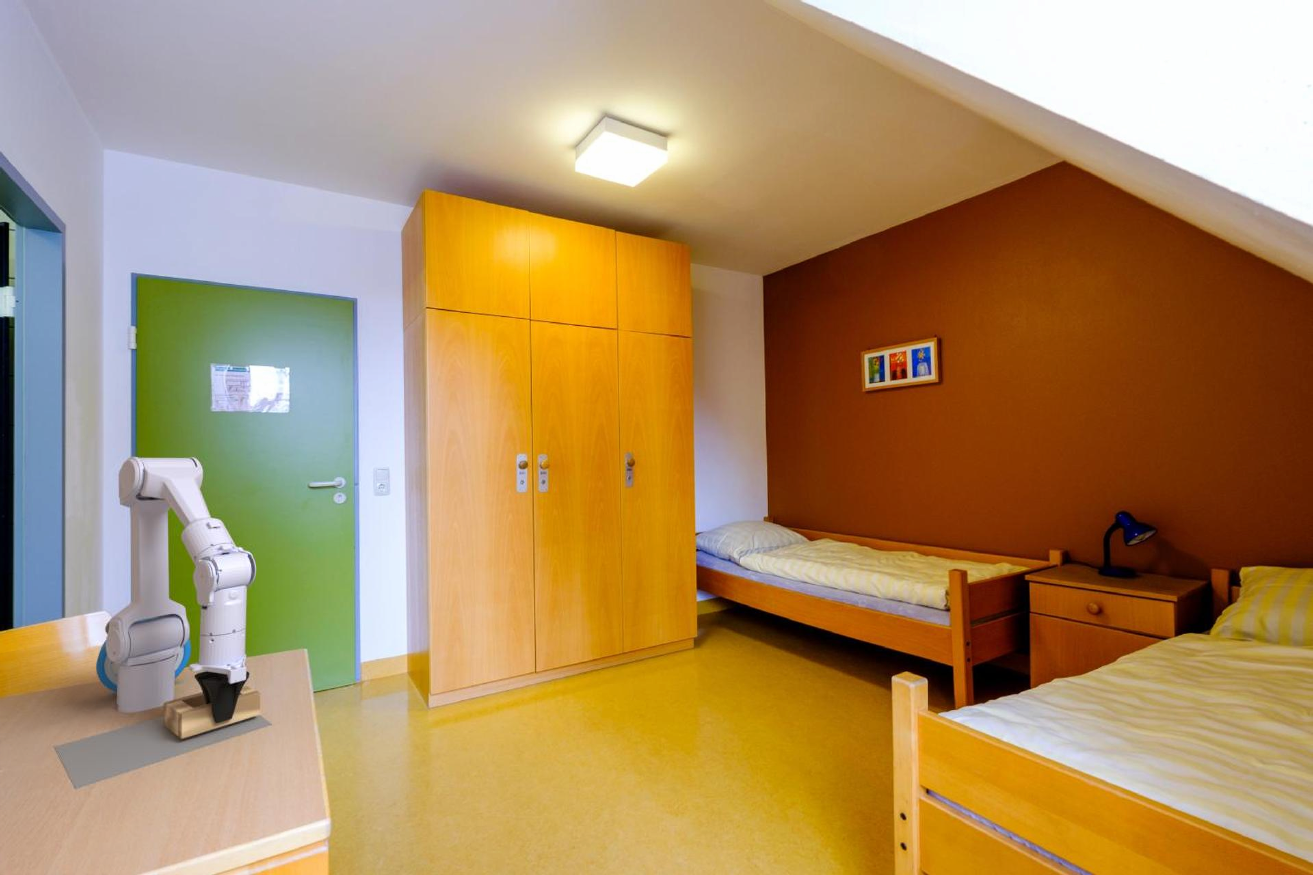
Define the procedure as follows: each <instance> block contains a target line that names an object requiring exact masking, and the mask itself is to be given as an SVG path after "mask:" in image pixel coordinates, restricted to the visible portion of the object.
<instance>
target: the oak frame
mask: <svg viewBox="0 0 1313 875" xmlns="http://www.w3.org/2000/svg"><path fill="white" fill-rule="evenodd" d="M162 713H163V715H162V716H163V725H164V726H165V727H166V728H168V729H169V730H170V731H172V732H173V733H174V734H176V735H177V736H178V737H180V738H181V739H183V738H186V737H189V736H193V735H196V734H199V733H202V732H205V731H209V730H212V729H215V728H218V727H221V726H225V725H228V724H231V723H234V722H237V721H241V720H244V719H247V718H250V717H253V716H257V715H260V716H261V693H260V691H258V690H256V689H254V688H251V687H250V686H247V685H245V684H244V686H243V688H242V690H241V692H240V694H239V697H238V700H237V704H236V707H235V711H234V714H233V717H232V719H230V720H227V721H223V722H220V723H215V721H214V719H213V714H212V707H211V703H209V704H206V702H205V698H204V695H203V692H198V693H194V694H190V695H187V696H182V697H179V698H174V699H173V700H171V701H167V702H164V705H163V712H162Z"/></svg>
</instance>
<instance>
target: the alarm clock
mask: <svg viewBox="0 0 1313 875" xmlns="http://www.w3.org/2000/svg"><path fill="white" fill-rule="evenodd" d="M165 616H167V615H162V616H157V617H152V618H147V619H143V620H138V621H136V622H140V621H145V620H150V619H155V618H160V617H165ZM109 623H110V620H109V621H108V622H107V623H106V625H105V627H104V630H105V633H106V634H107V635H108V632H109ZM134 623H135V622H134ZM191 654H192V645H191V639H190V637H189V638H188V641H187V642H186V644H185V645H184V646H183V647H182V648H180V653H178V654H175V679H177V678H178V677H179V676H180V674H181V673H183V671H184V670H185V668H186V666H187V664H188V663H189V662H190V658H191ZM95 664H96V666H95V669H96V676H97V677H98V680H99V681H100V682H101V684H102V685H103V686H105V688H107V689H108V690H110V691H112V692H114V693H117V681H118V671H119V668H120V664H116V663H114V662H113V661H111V660H110V659H109V657H108V655H107V652H106V640H105V641H104V642H103V644H102V646H101V647H100V650H99V653H98V656H97V659H96V663H95Z"/></svg>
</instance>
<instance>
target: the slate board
mask: <svg viewBox="0 0 1313 875" xmlns="http://www.w3.org/2000/svg"><path fill="white" fill-rule="evenodd" d="M273 725H274V724H273V723H272V722H270V721H269V720H267V719H266V718H264V717H263V716H261V714H260V715H257V716H253V717H250V718H247V719H244V720H241V721H237V722H234V723H231V724H228V725H225V726H221V727H218V728H215V729H212V730H209V731H205V732H202V733H199V734H196V735H193V736H189V737H186V738H183V739H181V738H180V737H178V736H177V735H176V734H174V733H173V732H172V731H170V730H169V729H168V728H166V727H165V726H164V725H163V715H162V716H159V717H156V718H153V719H149V720H145V721H141V722H138V723H135V724H134V723H133V724H131V725H126V726H123V727H119V728H116V729H113V730H109V731H107V732H102V733H99V734H95V735H90V736H87V737H84V738H81V739H77V740H72V741H70V742H65V743H63V744H62V743H61V744H59V745H56V746H55V745H54V746H53V748H54V750H55V752H56V753H57V757H58V758H59V759H60V761H61V764H62V765H63V768H64V769H65V771H66V773H67V775H68V777H69V779H70V781H71V783H72V785H73V787H74V789H75V790H78V789H81V788H83V787H84V788H85V787H87V786H89V785H90V786H91V785H92V784H95V783H100V782H102V781H105V780H108V779H112V778H114V777H117V776H120V775H124V774H127V773H129V772H133V771H135V770H138V769H141V768H142V769H143V768H145V767H148V766H150V765H151V766H152V765H154V764H157V763H160V762H164V761H167V760H169V759H172V758H176V757H178V756H181V755H185V754H187V753H190V752H194V751H196V750H197V751H198V750H200V749H203V748H205V747H209V746H212V745H215V744H218V743H221V742H224V741H228V740H230V739H234V738H236V737H237V738H238V737H240V736H242V735H246V734H248V733H252V732H255V731H258V730H260V729H263V728H267V727H271V726H273Z"/></svg>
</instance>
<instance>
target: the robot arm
mask: <svg viewBox="0 0 1313 875" xmlns="http://www.w3.org/2000/svg"><path fill="white" fill-rule="evenodd" d="M203 479H204V470H203V466H202V464H201V462H200V461H199V460H198V458H196V457H194V456H188V457H138V456H130V457H128V458H127V459H126V460H125V461H124V462H123V463H122V465H121V468H120V469H119V472H118V498H119V504H120V506H123V507H126V508H129V513H130V574H131V575H130V582H131V584H130V585H131V587H130V589H131V591H130V592H131V594H130V596H131V597H130V598H131V599H130V600H131V602H130V603H128V604H127V605H126V606H125V607H124V608H123V609H121V610H120V611H119V612H117V613H116V614H114V615H113V616H112V617H111V618H110V619H109V621H110V623H109V632H108V634H107V635H106V640H105V641H106V652H107V655H108V657H109V659H110V660H111V661H113V662H114V663H116V664H120V668H119V671H118V681H117V692H116V705H117V706H118V707H117V711H118V712H120V713H125V714H127V713H137V712H139V713H140V712H143V711H145V712H146V711H148V710H149V711H150V710H153V709H156V708H161V707H162V706H164V702H167V701H171V700H175V684H176V683H175V679H176V678H175V654H178V653H180V648H182V647H183V646H184V645H185V644H186V642H187V641H188V638H190V635H191V634H190V633H191V632H190V630H191V629H190V622H189V621H188V617H187V610H186V607H185V606H184V605H183V604H181V603H179V602H176V601H174V600H172V599H171V598H170V588H169V587H170V576H169V574H170V573H169V519H168V518H169V514H168V513H169V510H170V509H172V511H173V512H174V514H175V515H176V516H177V518H178V519H179V521H180V523H181V524H182V525H183V526H184V529H183V530H182V533H181V535H180V538H181V541H182V543H183V544H184V547H185V548H186V550H187V553H188V554H189V556H190V558H191V560H192V562H193V564H194V566H195V568H194V573H193V574H192V575H193V576H192V577H193V578H192V579H193V584H194V585H193V586H194V587H195V589H196V590H195V591H196V601H197V605H200V629H199V630H200V631H199V633H200V634H199V655H198V656H199V657H198V661H197V662H195V663H191V664H189V666H188V669H189V671H191V672H194V673H195V672H198V671H199V672H198V673H196V674H195V675H194V677H193V678H195V681H197V683H198V684H199V687H200V690H201V691H202V692H203V695H204V698H205V702H206V704H209V703H211V707H212V714H213V719H214V721H215V723H220V722H223V721H227V720H230V719H232V717H233V714H234V711H235V707H236V704H237V700H238V697H239V694H240V692H241V690H242V688H243V686H244V685H245V684H246V683H247V681H248V679H249V677H250V672H249V671H247V666H246V663H247V654H246V632H247V630H246V629H247V628H246V627H247V600H248V598H247V597H248V595H247V593H248V591H247V590H248V587H249V586H251V585H252V584H253V583H254V581H255V578H256V574H257V566H256V561H255V558H254V556H253V554H252V553H251V552H250V551H248V550H245V549H243V547H242V546H236V543H235V542H234V540H233V538H232V536H231V535H230V532H229V531H228V529H227V528H226V526H225V524H224V522H223V520H221V519H219V518H216V517H211V514H210V512H209V509H208V506H207V504H206V500H205V498H204V495H203V494H202V491H201V487H202V485H203ZM162 615H167V616H165V617H160V618H155V619H150V620H145V621H140V622H136V621H138V620H143V619H147V618H152V617H157V616H162ZM134 622H135V623H134ZM200 671H201V672H200ZM114 706H115V704H113V705H110V706H109V708H111V707H114Z"/></svg>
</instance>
